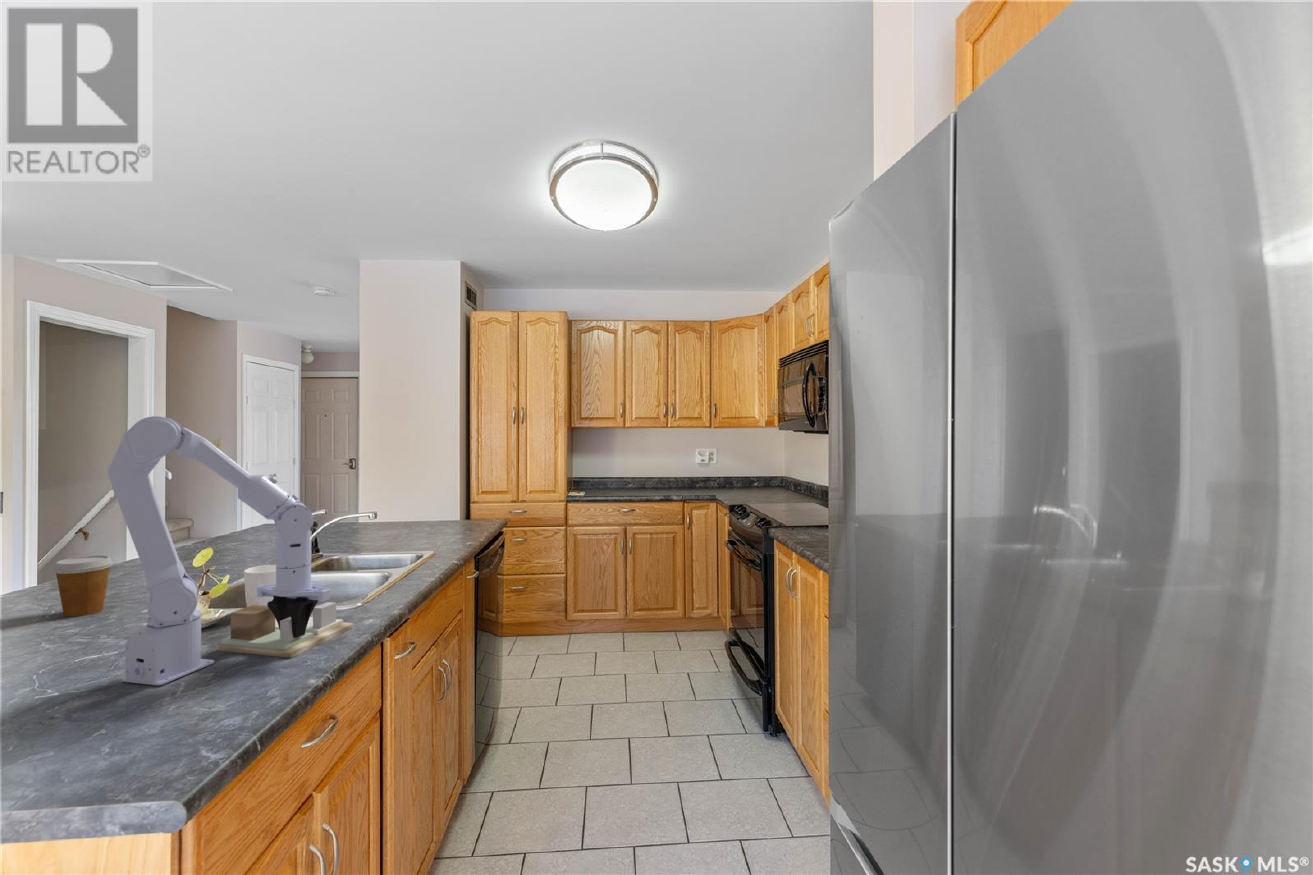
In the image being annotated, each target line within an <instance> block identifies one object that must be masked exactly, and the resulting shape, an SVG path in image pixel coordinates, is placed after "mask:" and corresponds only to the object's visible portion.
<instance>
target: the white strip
mask: <svg viewBox="0 0 1313 875" xmlns="http://www.w3.org/2000/svg"><path fill="white" fill-rule="evenodd" d="M343 623H344V619H341V618H339V619H338V618H337V602H335V601H332V602H331V601H327V602H324V603H322V604H319V605H316V606H315V607H314V609H313V611H312V616H310V618H309V621H308V624H307V627H306V632H309V633H314V634H315V635H319V634H321V633H323V632H325V631H328V630H330V629H332V628H334V627H336V626H339V625H341V624H343ZM275 630H280V629H279V626H278V623H277V620H276V618H275Z"/></svg>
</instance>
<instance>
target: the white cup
mask: <svg viewBox="0 0 1313 875" xmlns="http://www.w3.org/2000/svg"><path fill="white" fill-rule="evenodd" d="M243 575H244V593H245V604H246V607H249V606H252V605H264V606H267V603H268V602H270V601H273V598H274V597H269V596H264V597H257V587H259V586H262V585H266V584H267V585H276V564H266V565H265V564H264V565H258V566H257V565H256V566H253V567H249V568H246V569H245V570H243Z"/></svg>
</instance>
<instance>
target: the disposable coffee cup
mask: <svg viewBox="0 0 1313 875" xmlns="http://www.w3.org/2000/svg"><path fill="white" fill-rule="evenodd" d="M113 563H114V561H113V560H112V558H111V556H110V555H101V554H100V555H86V556H79V557H76V556H75V557H72V558H71V557H70V558H65V559H61V560H58V561H56V562H55V564H54V567H53V568H52V570H53V571H54V573H55V575H56V580H57V586H58V591H59V596H60V602H61V603H60V604H61V607H62V612H63V616H64V617H68V618H69V617H82V616H87V615H93V614H96V613H98V612H101V611H103V610H104V605H105V600H106V593H107V588H108V582H109V575H110V570H111V567H112V564H113Z"/></svg>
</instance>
